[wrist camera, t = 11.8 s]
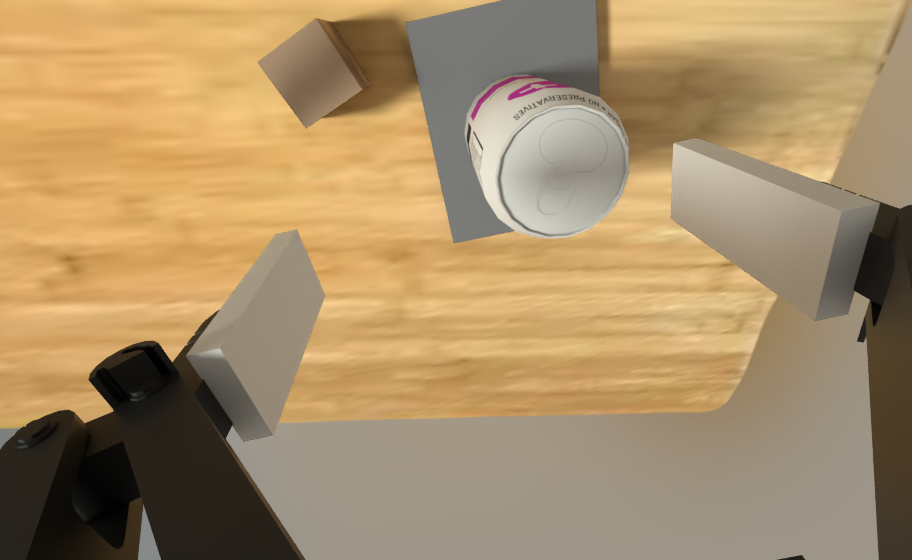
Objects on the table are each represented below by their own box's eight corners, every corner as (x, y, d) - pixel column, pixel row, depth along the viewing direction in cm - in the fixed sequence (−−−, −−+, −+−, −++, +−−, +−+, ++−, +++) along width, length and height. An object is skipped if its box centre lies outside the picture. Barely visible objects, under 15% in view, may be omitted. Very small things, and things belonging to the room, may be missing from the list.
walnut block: (279, 60, 34) (257, 62, 29) (331, 22, 33) (315, 18, 28) (321, 118, 36) (306, 128, 31) (370, 84, 35) (362, 89, 30)
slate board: (405, 23, 33) (405, 22, 32) (589, -19, 32) (595, -22, 31) (453, 238, 41) (453, 243, 40) (599, 208, 41) (603, 212, 40)
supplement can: (482, 59, 33) (517, 67, 20) (579, 93, 35) (671, 121, 21) (451, 161, 37) (463, 226, 24) (540, 188, 38) (598, 263, 25)
